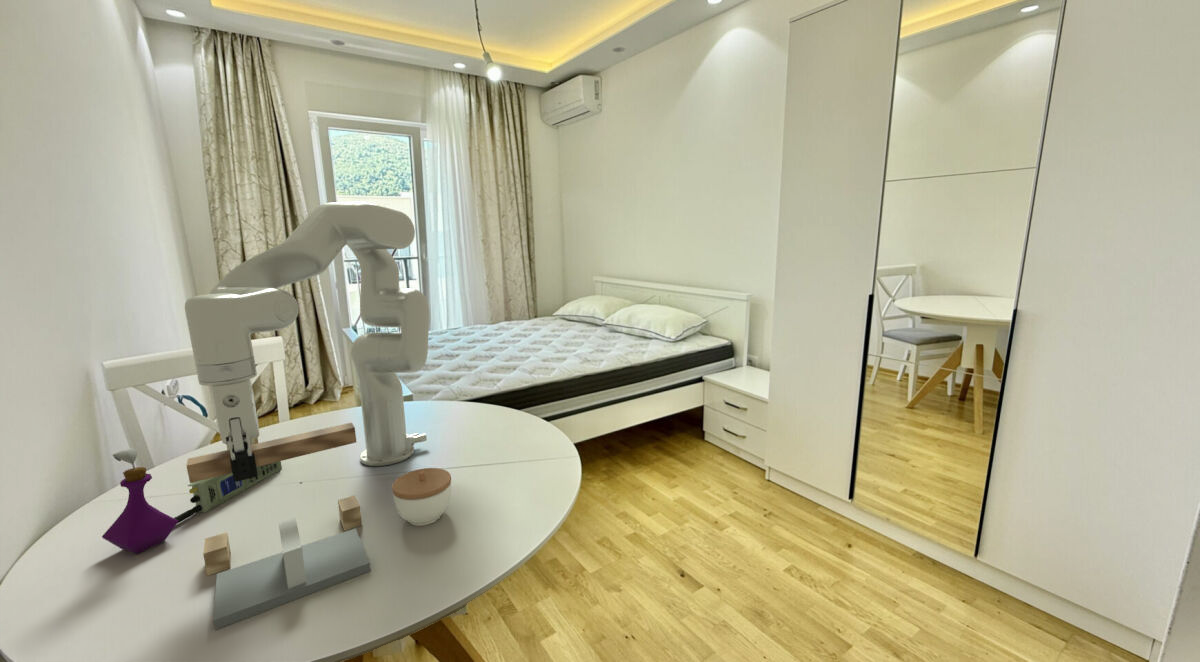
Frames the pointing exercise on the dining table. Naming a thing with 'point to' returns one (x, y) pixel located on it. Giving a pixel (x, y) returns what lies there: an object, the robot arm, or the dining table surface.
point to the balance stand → (287, 574)
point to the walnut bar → (273, 451)
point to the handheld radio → (223, 489)
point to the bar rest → (219, 548)
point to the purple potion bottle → (138, 513)
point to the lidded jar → (422, 495)
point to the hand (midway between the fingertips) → (245, 473)
